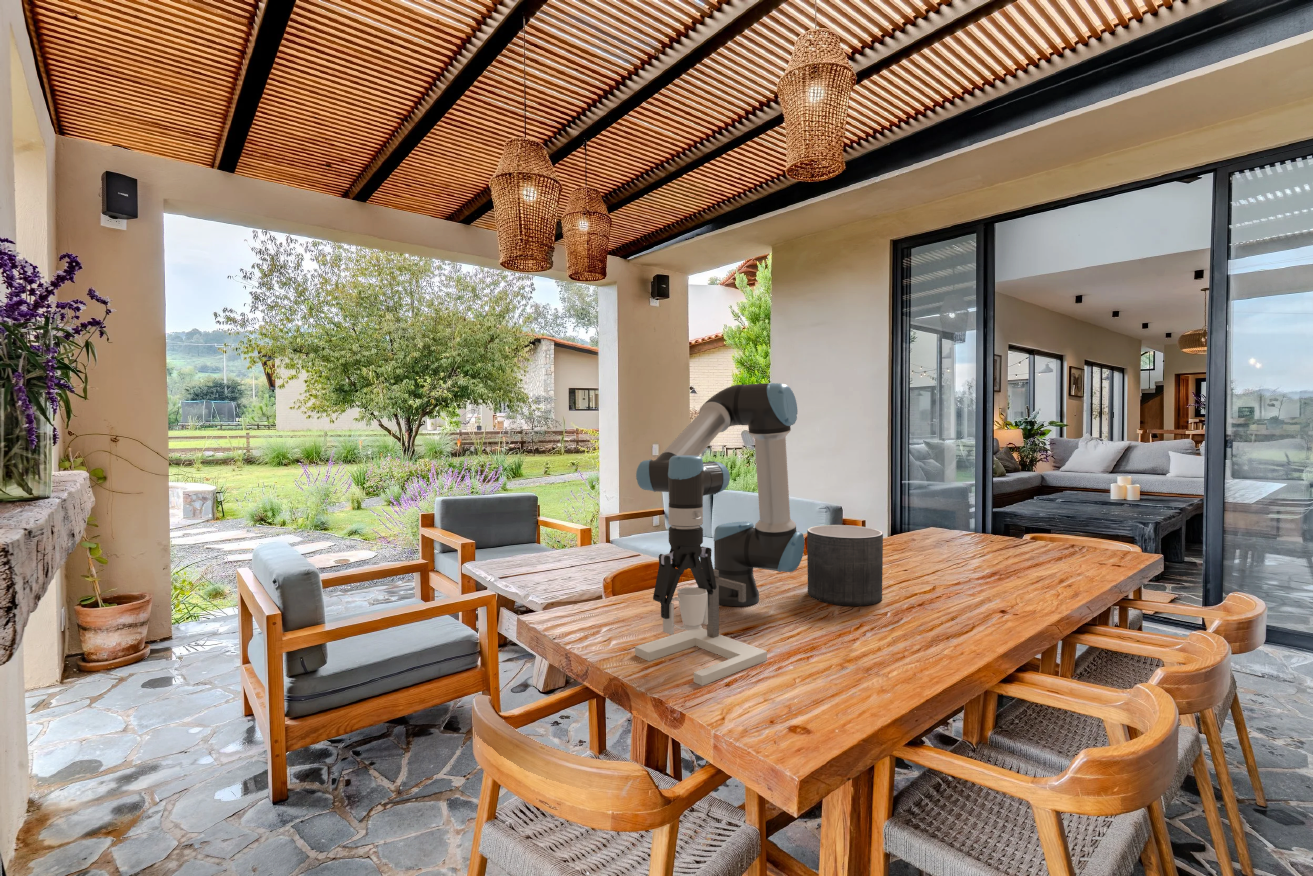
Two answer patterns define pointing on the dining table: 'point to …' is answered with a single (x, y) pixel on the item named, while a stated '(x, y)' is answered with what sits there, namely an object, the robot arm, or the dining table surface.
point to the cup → (691, 607)
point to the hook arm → (714, 602)
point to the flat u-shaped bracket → (726, 647)
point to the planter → (845, 564)
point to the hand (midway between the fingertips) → (685, 627)
